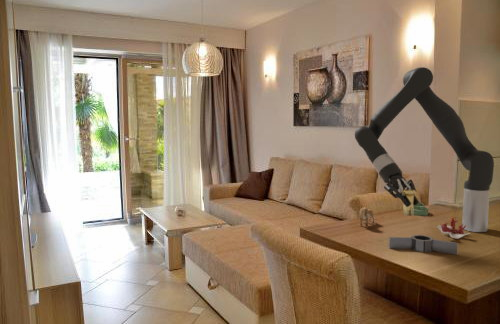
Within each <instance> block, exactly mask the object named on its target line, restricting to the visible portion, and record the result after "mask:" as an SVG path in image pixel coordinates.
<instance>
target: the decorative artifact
mask: <svg viewBox="0 0 500 324" xmlns="http://www.w3.org/2000/svg"><path fill="white" fill-rule="evenodd" d="M418 201H419V203H418V204H417V205H414V212H413V215H412V216H419V217H422V216H423V217H424V216H429V211H430V210H429V208H428V207H426V206H425V204H424V203H423V202H421V201H420V200H418Z"/></svg>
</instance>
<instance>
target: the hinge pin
mask: <svg viewBox="0 0 500 324" xmlns="http://www.w3.org/2000/svg"><path fill="white" fill-rule="evenodd" d="M402 192H403V193H404V194H405V195H406V196H407V198H408V199H409V200H410V202H411V205H410V206H409V207H406V206H405V205H404V203H403V202H402V215H403V216H409V217H410V216H414V215H413V212H414V195H416V194H417V189H416V190H412V189H406V188H405V189H403V190H402ZM405 195H404V196H405Z"/></svg>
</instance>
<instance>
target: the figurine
mask: <svg viewBox="0 0 500 324" xmlns="http://www.w3.org/2000/svg"><path fill="white" fill-rule="evenodd" d="M450 219H451V220H450V222H449V223H448V222H447V223H446V222H444V223H442V225H440V224H438V225H436V227H437V228H438V230H440V233H441V234H443V235H445V234H448V235H449V237H450V238H452V239H456V240H459V239H461V238H463V237H464V236H467V235H470V234H471V233H470V232H464V228H465V227H466V225H465V226H464V227H462V226H463V224H462V223H461V225H459V226H458V229H456V223H458V220H455V219H458V217H451V218H450ZM448 224H450V225H448Z"/></svg>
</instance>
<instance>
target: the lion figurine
mask: <svg viewBox="0 0 500 324" xmlns="http://www.w3.org/2000/svg"><path fill="white" fill-rule="evenodd" d="M369 217H370V218H369ZM358 219H359V226H358V227H361V228H362V227H363V224H365V228H369V221H371V224H374V223H375V217H374V212H373V210H372V209H371V208H367V207H362V208H360V210H359V211H358Z"/></svg>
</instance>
